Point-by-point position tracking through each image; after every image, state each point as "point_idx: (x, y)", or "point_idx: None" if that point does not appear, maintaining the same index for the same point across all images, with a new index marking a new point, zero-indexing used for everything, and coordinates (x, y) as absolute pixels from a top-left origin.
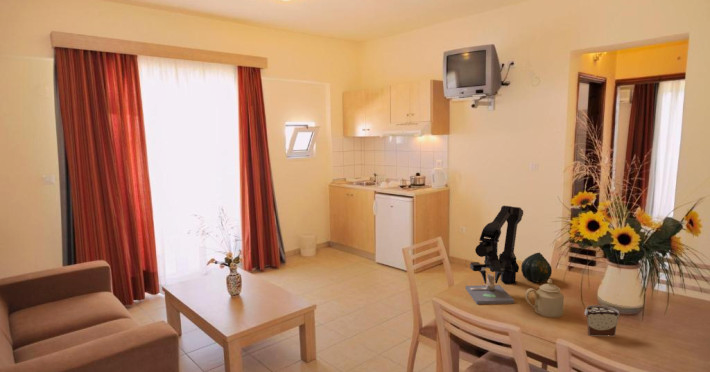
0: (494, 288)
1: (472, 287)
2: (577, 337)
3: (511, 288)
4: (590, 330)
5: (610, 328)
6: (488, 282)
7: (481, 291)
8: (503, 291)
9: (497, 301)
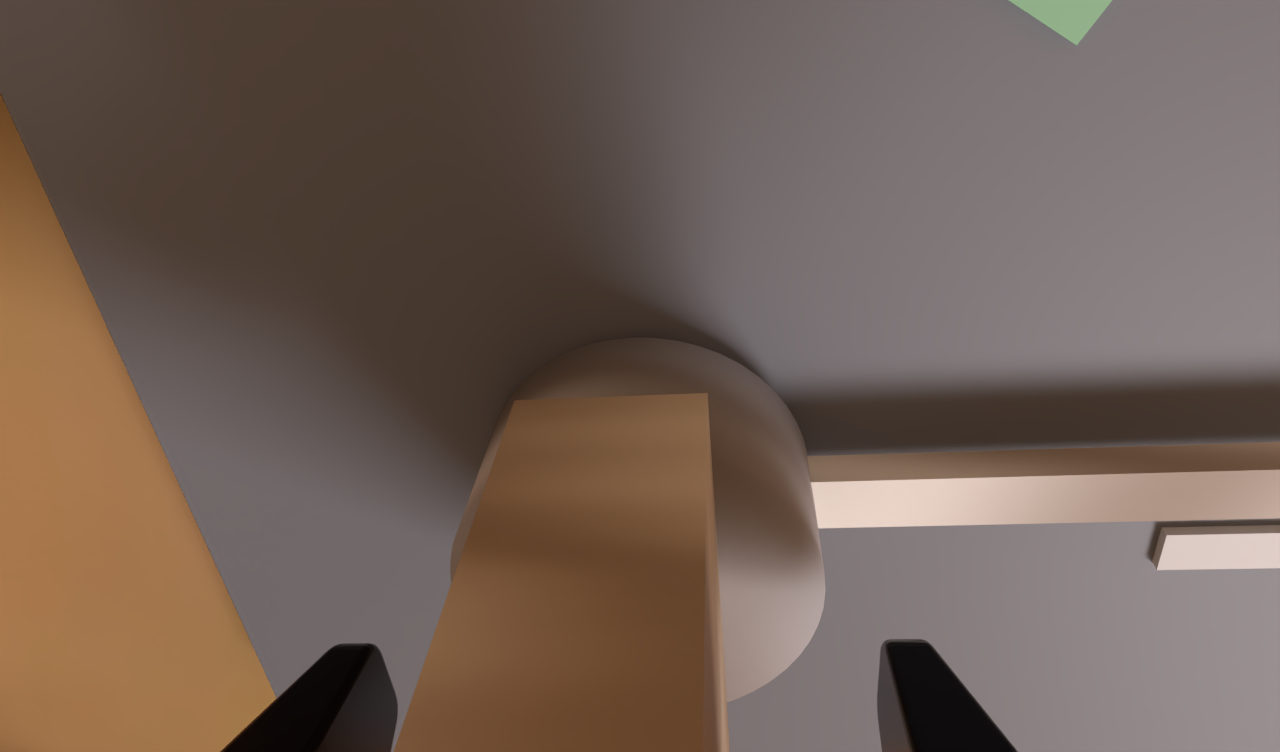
0: (502, 429)
1: (1222, 651)
2: None
3: (29, 639)
4: None
5: None
6: (723, 720)
7: (1076, 318)
8: (183, 305)
9: None
